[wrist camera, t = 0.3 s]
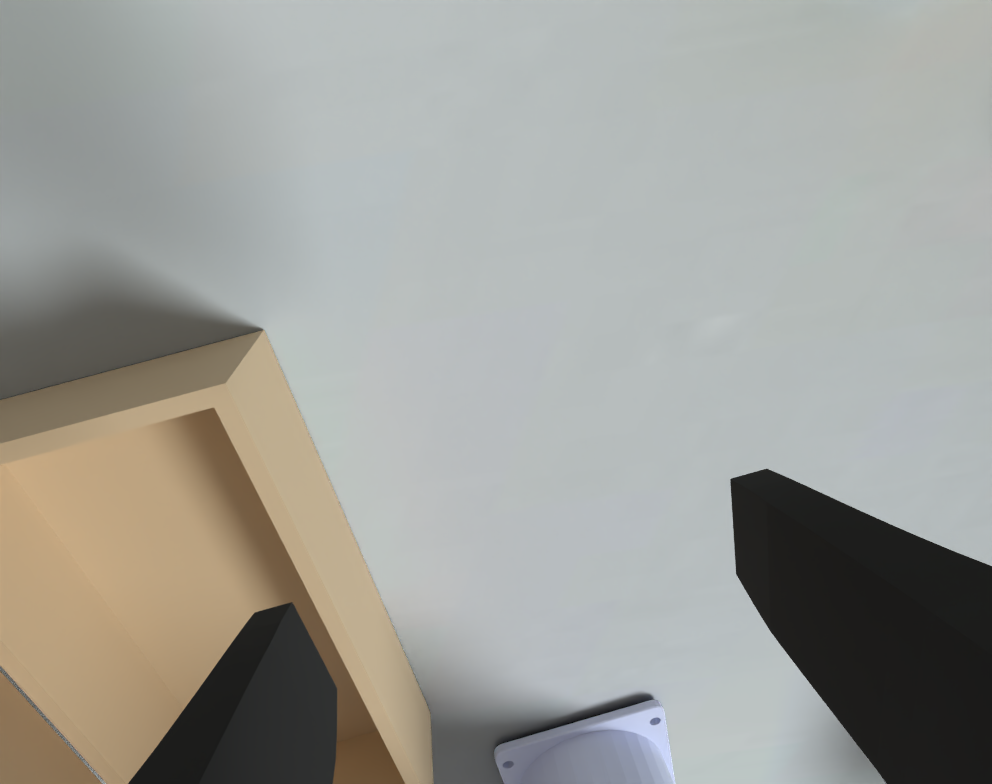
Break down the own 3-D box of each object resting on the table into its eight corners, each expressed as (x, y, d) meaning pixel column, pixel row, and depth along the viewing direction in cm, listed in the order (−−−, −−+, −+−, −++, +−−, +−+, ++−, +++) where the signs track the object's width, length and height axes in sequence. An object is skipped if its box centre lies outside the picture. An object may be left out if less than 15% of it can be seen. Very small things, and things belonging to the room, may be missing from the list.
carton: (430, 712, 25) (434, 811, 21) (226, 771, 24) (195, 882, 21) (263, 329, 17) (225, 382, 13) (-38, 410, 17) (-161, 486, 13)
